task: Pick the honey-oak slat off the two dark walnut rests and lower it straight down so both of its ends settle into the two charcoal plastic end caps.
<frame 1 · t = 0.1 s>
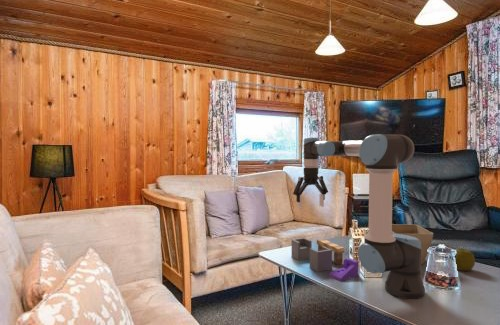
hand: (310, 207, 180), 28 cm above the table, tool pointing down, fingers open, 13 cm apart
apple: (462, 270, 165), on the table
end caps: (310, 262, 177), on the table
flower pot: (405, 260, 179), on the table
slat: (329, 248, 181), point 6 cm above the table, touching rests
bracket: (343, 276, 159), on the table
rests: (329, 259, 181), on the table
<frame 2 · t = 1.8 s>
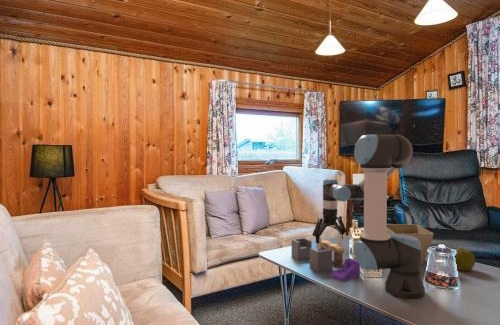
hand: (329, 247, 181), 6 cm above the table, tool pointing down, fingers open, 13 cm apart
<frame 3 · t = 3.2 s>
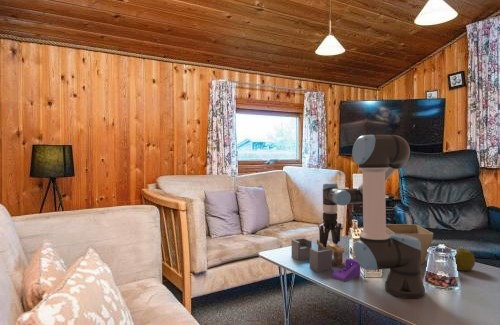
hand: (329, 255, 181), 2 cm above the table, tool pointing down, fingers closed on slat, 4 cm apart
slat: (329, 248, 181), point 6 cm above the table, touching gripper, rests
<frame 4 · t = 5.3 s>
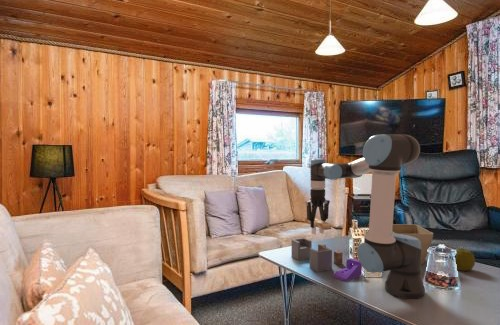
hand: (317, 233, 178), 15 cm above the table, tool pointing down, fingers closed on slat, 4 cm apart
slat: (317, 225, 177), point 19 cm above the table, touching gripper
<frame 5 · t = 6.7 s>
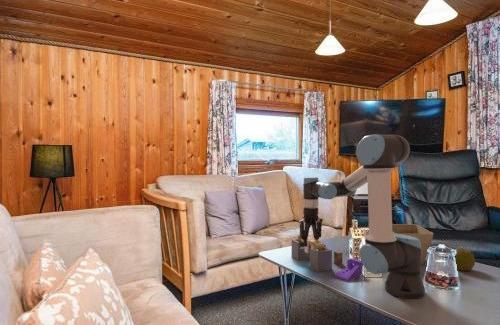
hand: (310, 251, 176), 6 cm above the table, tool pointing down, fingers closed on slat, 4 cm apart
slat: (310, 243, 176), point 10 cm above the table, touching gripper
when the fingers open (3 cm above the table, at t = 7.7 s): slat drops 1 cm, resting on end caps.
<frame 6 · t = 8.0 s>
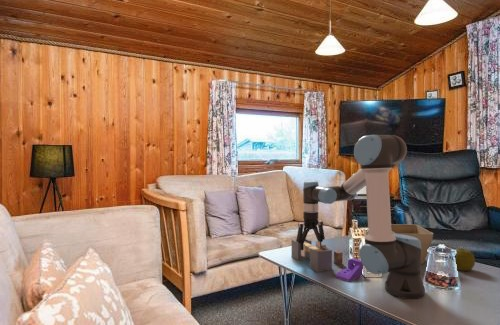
hand: (310, 254, 176), 4 cm above the table, tool pointing down, fingers open, 8 cm apart
slat: (310, 251, 176), point 6 cm above the table, touching end caps
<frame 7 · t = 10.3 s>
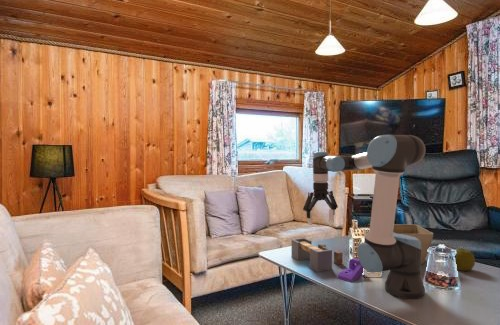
hand: (320, 223, 176), 20 cm above the table, tool pointing down, fingers open, 13 cm apart
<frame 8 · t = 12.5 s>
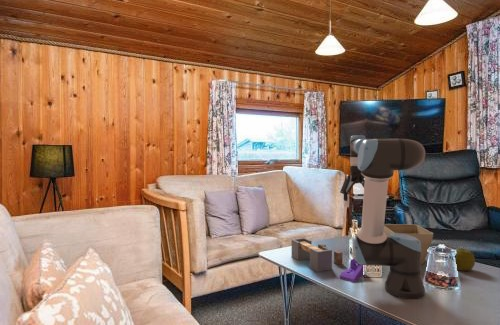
hand: (357, 206, 178), 29 cm above the table, tool pointing down, fingers open, 13 cm apart
at the end: slat 0.0 cm off-centre on the end caps, point 6.0 cm above the end caps's base; slat tilted 0°; the gripper is holding nothing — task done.
